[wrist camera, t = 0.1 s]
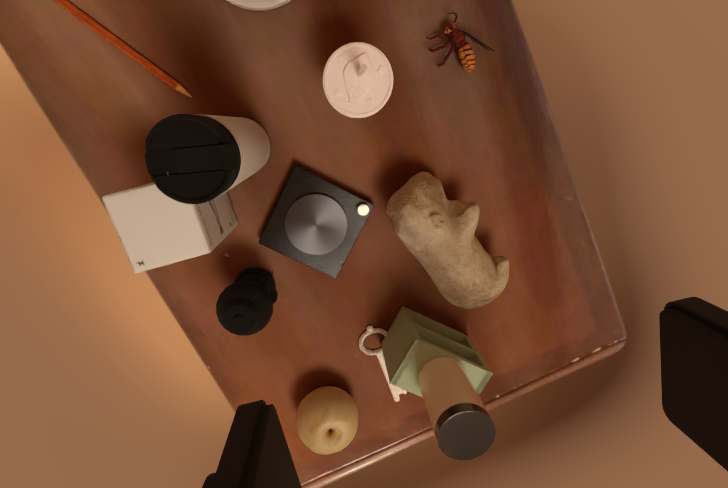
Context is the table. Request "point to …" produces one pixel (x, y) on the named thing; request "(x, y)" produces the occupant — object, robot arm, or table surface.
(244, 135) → the travel mug
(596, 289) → the table surface
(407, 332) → the green box
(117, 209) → the white packaging box
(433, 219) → the sculpture
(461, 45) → the insect
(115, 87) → the table surface
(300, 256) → the hot plate
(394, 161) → the table surface
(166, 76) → the pencil
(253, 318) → the gumball machine
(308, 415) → the apple
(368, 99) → the smoothie
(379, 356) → the key
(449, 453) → the jar
